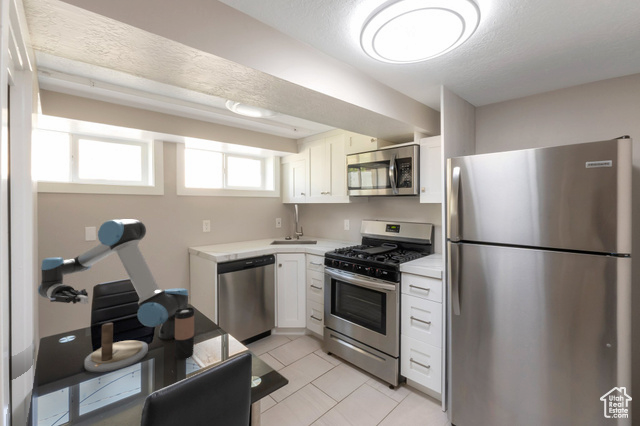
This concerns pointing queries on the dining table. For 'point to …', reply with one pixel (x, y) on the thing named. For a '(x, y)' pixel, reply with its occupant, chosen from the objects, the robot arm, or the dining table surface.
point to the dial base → (115, 365)
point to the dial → (114, 347)
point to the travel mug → (184, 333)
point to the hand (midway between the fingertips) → (86, 300)
